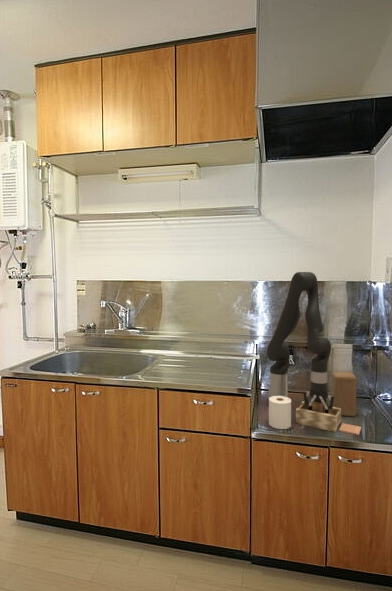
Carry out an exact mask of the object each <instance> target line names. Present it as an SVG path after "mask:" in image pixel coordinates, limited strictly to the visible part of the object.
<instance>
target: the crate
mask: <svg viewBox="0 0 392 591" xmlns="http://www.w3.org/2000/svg"><path fill="white" fill-rule="evenodd" d="M341 422H342V415H341V408H337V407H333V408H332V409H329V414H326V413H321V412H316V411H311V410H309V406H308V405H307V404H305V403H304V401H301V404H300V405H299V407H296V409H295V424H297V425H302V426H306V427H311V428H314V429H315V428H316V429H320V430H325V431H329V432H334V433H337V431H338V430H339V428H340V426H341V425H340V424H342V423H341Z"/></svg>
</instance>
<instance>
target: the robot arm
mask: <svg viewBox="0 0 392 591" xmlns="http://www.w3.org/2000/svg"><path fill="white" fill-rule="evenodd" d="M318 283H319V282H318V279H317V275H316V274H315V273H314V272H311V271H297V272H295V273H294V274H293V276H292V277H291V280H290V283H289V288H288V292H287V295H286V299H285V303H284V306H283V308H282V311H281V314H280V316H279V320H278V323H277V325H276V328H275V330H274V333H273V335H272V336H271V337H272V338H271V339H270V342H269V344H268V345H267V348H266V355H267V358H268V360H270V361H271V362H274V363H273V364H272V365H271V366H270V368H269V385H268V398H269V397H272V396H284V397H288V372H289V371H288V370H289V368H290V359H291V358H290V357H291V356H290V355H291V353H290V351H291V350H290V347H289V345H288V344H287V343H286V342H285V341H286V339H287V338H288V337H289V336H290V335H291V334H292V333H293V332H294V331H295V330H296V328H297V326H298V324H299V321H300V319H301V309H300V304H299V302H300V297H301V295H302V293H303V292H306V295H307V305H306V310H305V316H304V317H305V322H306V328H307V348H308V351H309V352H310V353H312V354H314V355H316V356H314V357H313V358H311V361H310V363H311V364H310V368H311V369H310V390H309V391H308V390H305V391H304V392H303V393H302V394H303V400H304V403H305V404H307V405H308V406H309V410H311V411H312V402H313V401H317V402H322V403H323V405H324V407H325V413H326V414H329V409H332V408H333V404H334V397H335V396H334V395H332V394H329V393H328V381H329V379H328V363H329V358H330V355H331V351H332V343H331V341H330V340H329V339H328V338H327V337H319V334H320V333H323V331H324V324H323V321H322V317H321V316H322V315H321V311H320V301H319V300H320V298H319V287H318V286H319V284H318ZM309 396H310V397H311V398H310V399H311V400H310V401H309ZM327 399H328V400H329V401H330V402H329V404H328V401H327Z"/></svg>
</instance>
